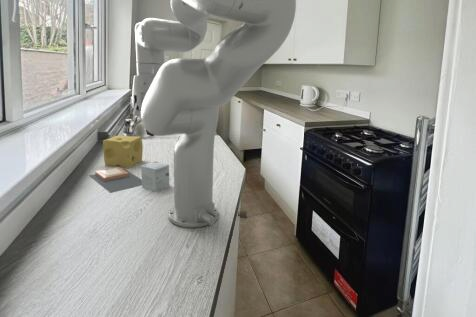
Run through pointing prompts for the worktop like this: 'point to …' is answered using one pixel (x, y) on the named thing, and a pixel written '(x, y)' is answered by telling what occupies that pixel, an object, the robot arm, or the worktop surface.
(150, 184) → the skincare box
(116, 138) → the cheese
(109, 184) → the mat
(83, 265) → the worktop surface
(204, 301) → the worktop surface
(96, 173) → the tile
